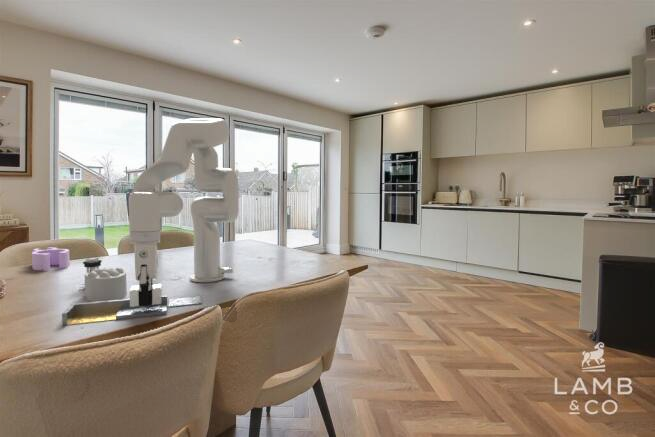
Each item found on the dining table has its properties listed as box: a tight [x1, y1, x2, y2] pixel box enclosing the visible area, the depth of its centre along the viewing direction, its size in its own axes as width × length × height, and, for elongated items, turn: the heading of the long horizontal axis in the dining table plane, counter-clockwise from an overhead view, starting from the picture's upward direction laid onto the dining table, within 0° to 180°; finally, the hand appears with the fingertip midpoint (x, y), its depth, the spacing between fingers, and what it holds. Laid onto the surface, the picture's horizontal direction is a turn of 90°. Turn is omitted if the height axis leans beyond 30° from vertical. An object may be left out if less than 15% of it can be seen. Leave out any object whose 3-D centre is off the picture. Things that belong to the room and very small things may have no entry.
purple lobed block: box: [31, 246, 71, 272], centre depth 150 cm, size 20×12×7 cm, turn 51°
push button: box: [79, 257, 103, 289], centre depth 119 cm, size 7×5×10 cm
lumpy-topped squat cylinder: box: [84, 266, 128, 302], centre depth 110 cm, size 10×13×9 cm
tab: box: [168, 295, 202, 308], centre depth 106 cm, size 9×7×1 cm
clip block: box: [129, 283, 163, 307], centre depth 96 cm, size 8×4×4 cm, turn 113°
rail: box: [61, 295, 168, 326], centre depth 94 cm, size 24×8×3 cm, turn 113°
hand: (146, 301), depth 96 cm, fingers closed on clip block, 4 cm apart
